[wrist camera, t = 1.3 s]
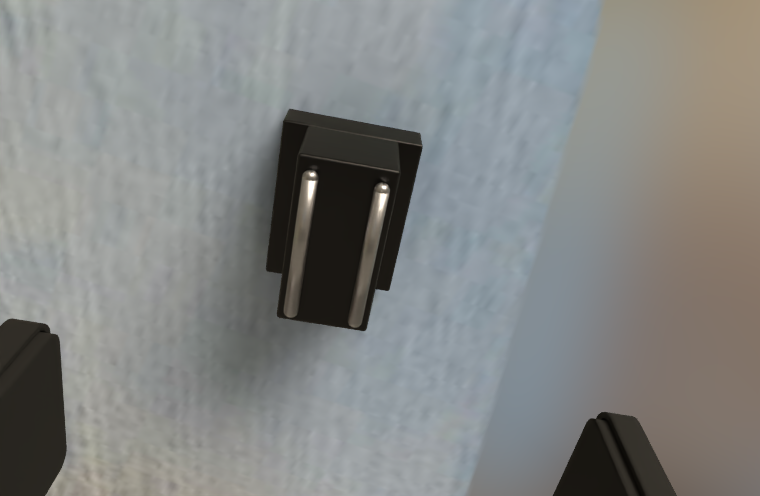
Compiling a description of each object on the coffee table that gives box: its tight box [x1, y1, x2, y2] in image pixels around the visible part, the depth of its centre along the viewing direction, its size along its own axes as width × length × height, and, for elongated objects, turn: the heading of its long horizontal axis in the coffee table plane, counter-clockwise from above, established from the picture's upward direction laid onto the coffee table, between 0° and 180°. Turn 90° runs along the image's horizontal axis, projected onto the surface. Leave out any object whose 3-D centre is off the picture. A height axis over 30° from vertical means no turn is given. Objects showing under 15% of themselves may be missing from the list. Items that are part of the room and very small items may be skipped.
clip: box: [266, 109, 423, 331], centre depth 18 cm, size 5×4×4 cm
